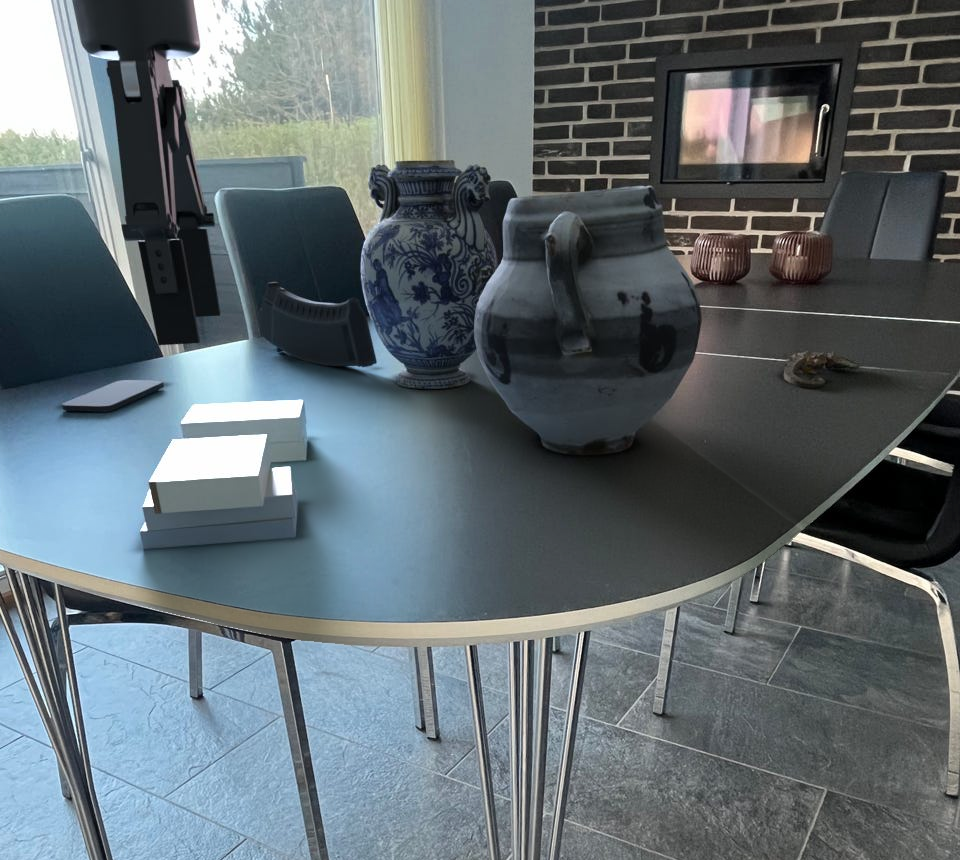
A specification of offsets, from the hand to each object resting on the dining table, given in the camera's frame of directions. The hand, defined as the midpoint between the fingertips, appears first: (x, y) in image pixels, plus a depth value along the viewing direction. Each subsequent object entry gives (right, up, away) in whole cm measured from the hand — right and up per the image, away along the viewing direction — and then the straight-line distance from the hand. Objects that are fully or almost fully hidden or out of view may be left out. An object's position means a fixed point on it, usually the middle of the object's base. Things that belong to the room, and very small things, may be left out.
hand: (192, 329), depth 66 cm
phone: (-28, +9, +53) cm, 61 cm away
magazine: (-5, +22, +75) cm, 78 cm away
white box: (0, -14, +8) cm, 16 cm away
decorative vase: (+15, +13, +59) cm, 62 cm away
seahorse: (+70, +14, +57) cm, 92 cm away
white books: (-3, -4, +27) cm, 28 cm away
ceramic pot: (+33, -3, +28) cm, 43 cm away
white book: (0, -11, +6) cm, 12 cm away
